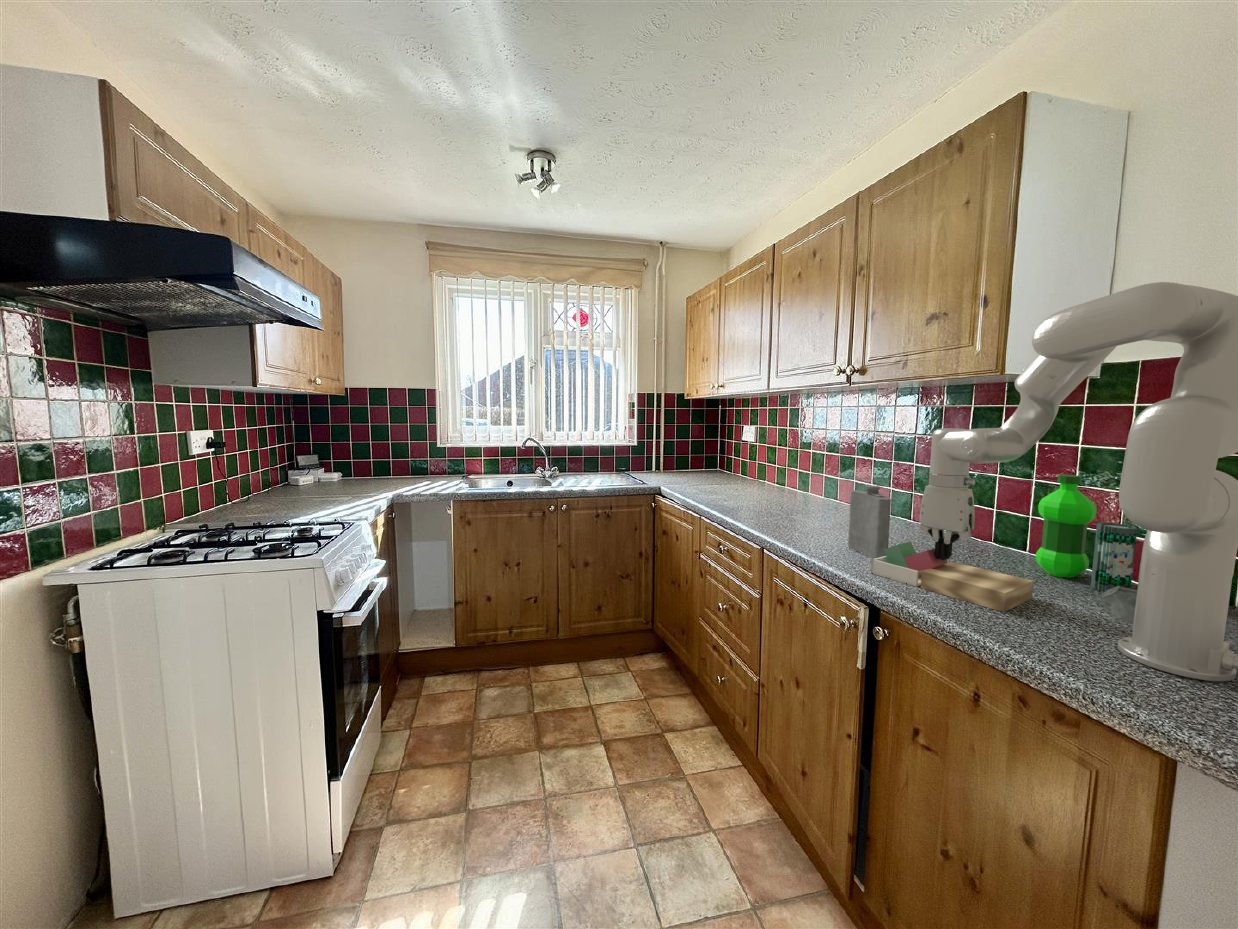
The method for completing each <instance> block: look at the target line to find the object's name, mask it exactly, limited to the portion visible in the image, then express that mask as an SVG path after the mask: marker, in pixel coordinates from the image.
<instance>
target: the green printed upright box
mask: <svg viewBox="0 0 1238 929" xmlns="http://www.w3.org/2000/svg"><path fill="white" fill-rule="evenodd" d="M1138 528H1139V527H1138V526H1137V527H1136V526H1134V525H1129V524H1122V523H1115V522H1097V523H1096V531H1095V539H1094V550H1093V561H1092V568H1091V570H1092V571H1091V580H1090V588H1092V589H1093V588H1094V589H1093V590H1096V589H1098V590H1101V591H1100V592H1102V591H1104V592H1106V591H1107V590H1108V589H1111V588H1114V587H1116V586H1121V587H1124V588H1129V589H1132V581H1133V573H1134V563H1135V556H1136V555H1135V554H1136V547H1137V538H1138V530H1139V529H1138ZM1098 590H1097V591H1098ZM1104 592H1103V593H1104Z"/></svg>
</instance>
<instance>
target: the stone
mask: <svg viewBox="0 0 1238 929" xmlns="http://www.w3.org/2000/svg"><path fill="white" fill-rule="evenodd" d="M1099 598H1100V601H1101V604H1102V607H1103V608H1104V610H1105V612H1106V613H1109V614H1111V615H1112V616H1113V617H1114V618H1116V619H1117V620H1119V621H1121V622H1123V623H1126V624H1129V625H1130V624H1131V625H1133V624H1134V615H1135V607H1136V598H1137V589H1133V588H1131V589H1129V588H1124V587H1121V586H1116V587H1114V588H1111V589H1108V590H1107V591H1106V592H1102V593H1101V594H1099Z"/></svg>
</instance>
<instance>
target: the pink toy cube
mask: <svg viewBox="0 0 1238 929" xmlns="http://www.w3.org/2000/svg"><path fill="white" fill-rule="evenodd" d="M904 560H905V562H906V564H907V566H908V568H909V569H912V570H916V571H923V570H927V569H930V568H934V567H937V566H940V565H944V564H947V563H949V562H948V559H947V560H941V559H936V554H935V548H931V549H928V550H924V551H921V552H916V554H914V555H911V556H908V557H904Z"/></svg>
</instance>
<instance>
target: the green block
mask: <svg viewBox="0 0 1238 929" xmlns="http://www.w3.org/2000/svg"><path fill="white" fill-rule="evenodd" d="M883 550H884V552H885V554H886V556H887V559H888V561H889V563H890V564H893V565H897V566H901V567H905V568H908V566H907V564H906V562H905V560H904V557H908V556H911V555H914V554H917V552H916V549H915V547H914V545H913V544H912V542H911V541H907V542H902V543H900V544H895V545H892V546H888V548H886V549H883Z"/></svg>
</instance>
